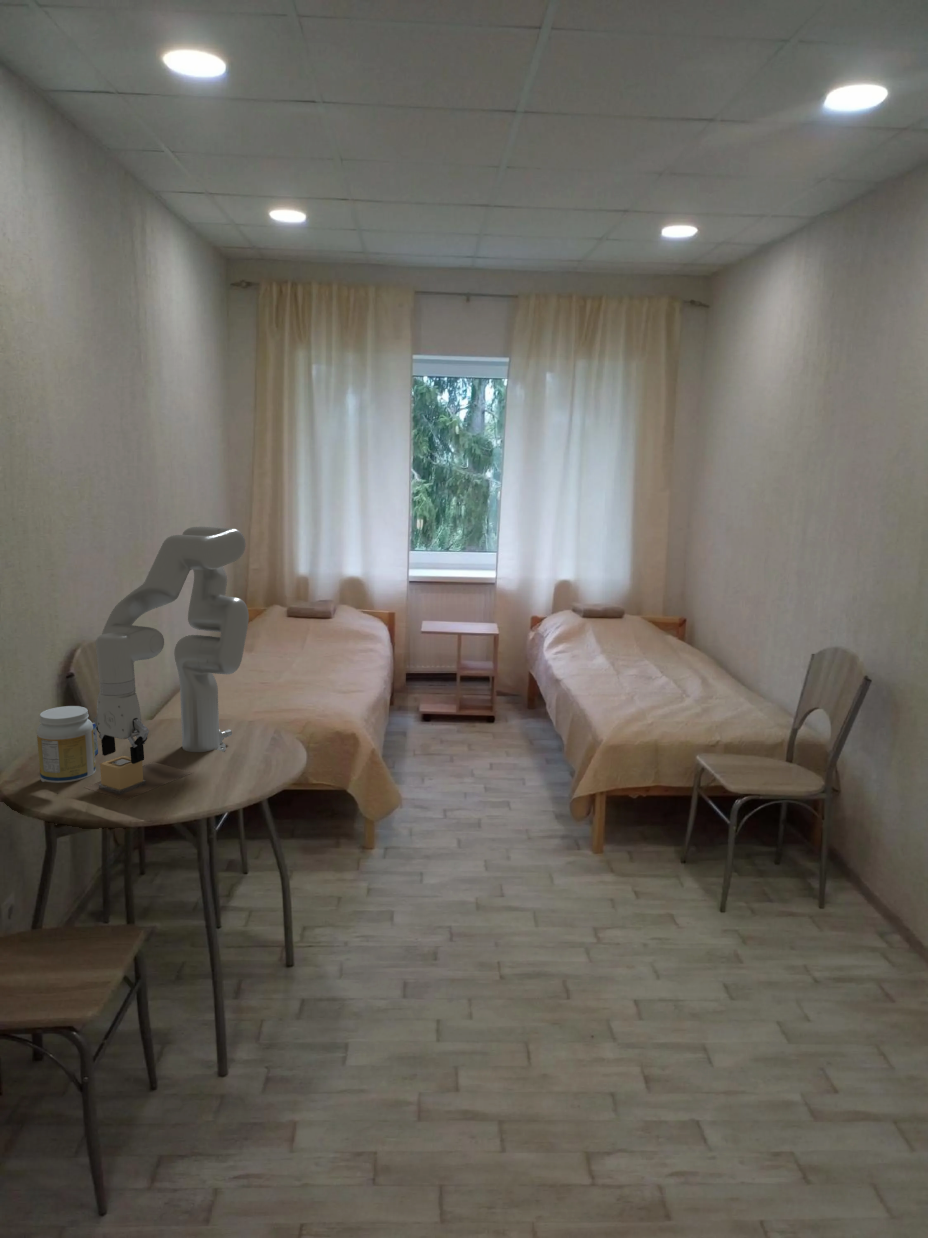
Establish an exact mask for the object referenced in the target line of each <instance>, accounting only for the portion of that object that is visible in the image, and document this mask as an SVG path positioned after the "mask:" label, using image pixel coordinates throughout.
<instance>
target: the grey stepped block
mask: <svg viewBox="0 0 928 1238" xmlns="http://www.w3.org/2000/svg"><path fill="white" fill-rule="evenodd" d="M128 763H131V761H128V760H124V759H121V760H118V761H115V762H112V763H111V764H112V765H116V766H123V765H126V764H128ZM144 785H146V781H145V780H143V781H141V782H139V783H136V784H134V785H131V786H128V787H126V788H123V789H121V790H120V789H116V788H113V787H110V786H106V785H103V784H99V789H102V790H106V791H109V792H112V793H116V794H119V795H121V794H123V793H126V792H129V791H131V790H134V789H136V788H139V787H141V786H144Z"/></svg>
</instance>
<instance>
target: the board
mask: <svg viewBox="0 0 928 1238" xmlns="http://www.w3.org/2000/svg"><path fill="white" fill-rule="evenodd" d="M142 766H143V780H145V781H146V785H144V786H141V787H139V788H136V789H134V790H131V791H129V792H126V793H123V794H121V795H119V794H116V793H112V792H109V791H106V790H102V789H99V784H101V780H100V781H97V782H95V783H92V784H90V785H87V786H84V787H83V789H87V790H91V791H94V792H97V793H100V794H104V795H107V796H110V797H114V798H116V799H120V800H123V801H127V800H129V799H132V798H134V797H137V796H139V795H141V794H144V793H147V792H149V791H151V790H154V789H157V788H159V787H161V786H164V785H166V784H168V783H171V782H174V781H176V780H178V779H182V778H185V777H187V776H189V775H192V774H194V772H193V771H189V770H185V769H181V768H177V767H174V766H170V765H166V764H164V763H163V764H162V763H159V762H155V761H152V762H149V763H147V764H144V765H142Z"/></svg>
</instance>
